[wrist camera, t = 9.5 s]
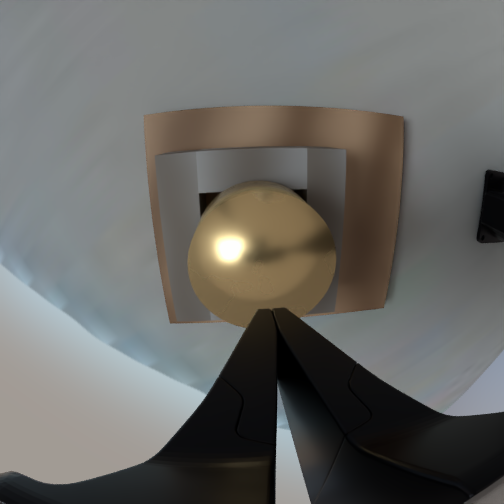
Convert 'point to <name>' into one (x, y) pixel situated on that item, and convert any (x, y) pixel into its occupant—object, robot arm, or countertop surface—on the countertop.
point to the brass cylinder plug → (260, 253)
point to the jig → (287, 174)
